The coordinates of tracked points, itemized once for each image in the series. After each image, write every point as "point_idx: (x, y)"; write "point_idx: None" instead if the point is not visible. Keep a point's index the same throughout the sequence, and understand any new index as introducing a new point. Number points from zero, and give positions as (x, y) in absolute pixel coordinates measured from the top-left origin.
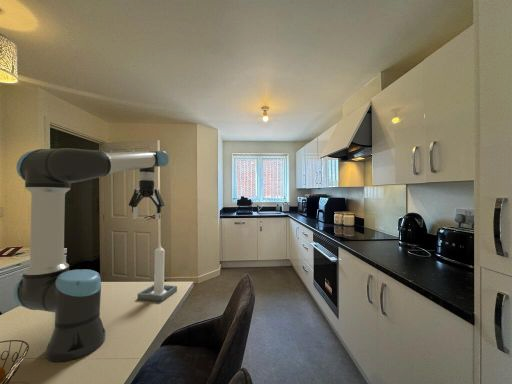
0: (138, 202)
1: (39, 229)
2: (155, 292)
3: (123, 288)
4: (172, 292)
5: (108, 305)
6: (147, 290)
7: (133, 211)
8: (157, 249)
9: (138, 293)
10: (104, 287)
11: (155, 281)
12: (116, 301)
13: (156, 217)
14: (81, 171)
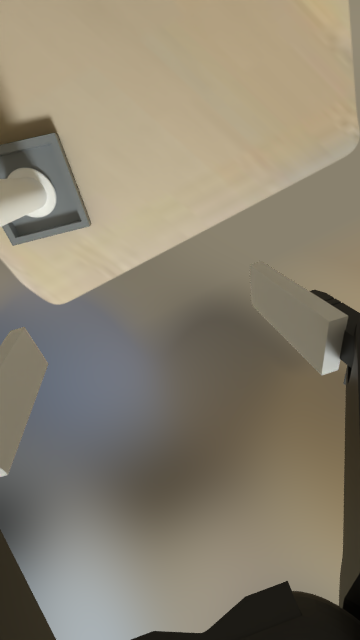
0: (348, 422)
1: None
2: (25, 177)
3: (176, 181)
4: None
5: (89, 47)
6: (66, 180)
7: (299, 291)
8: None
9: (55, 137)
10: (234, 160)
11: (13, 178)
12: (99, 88)
13: (4, 346)
14: None
